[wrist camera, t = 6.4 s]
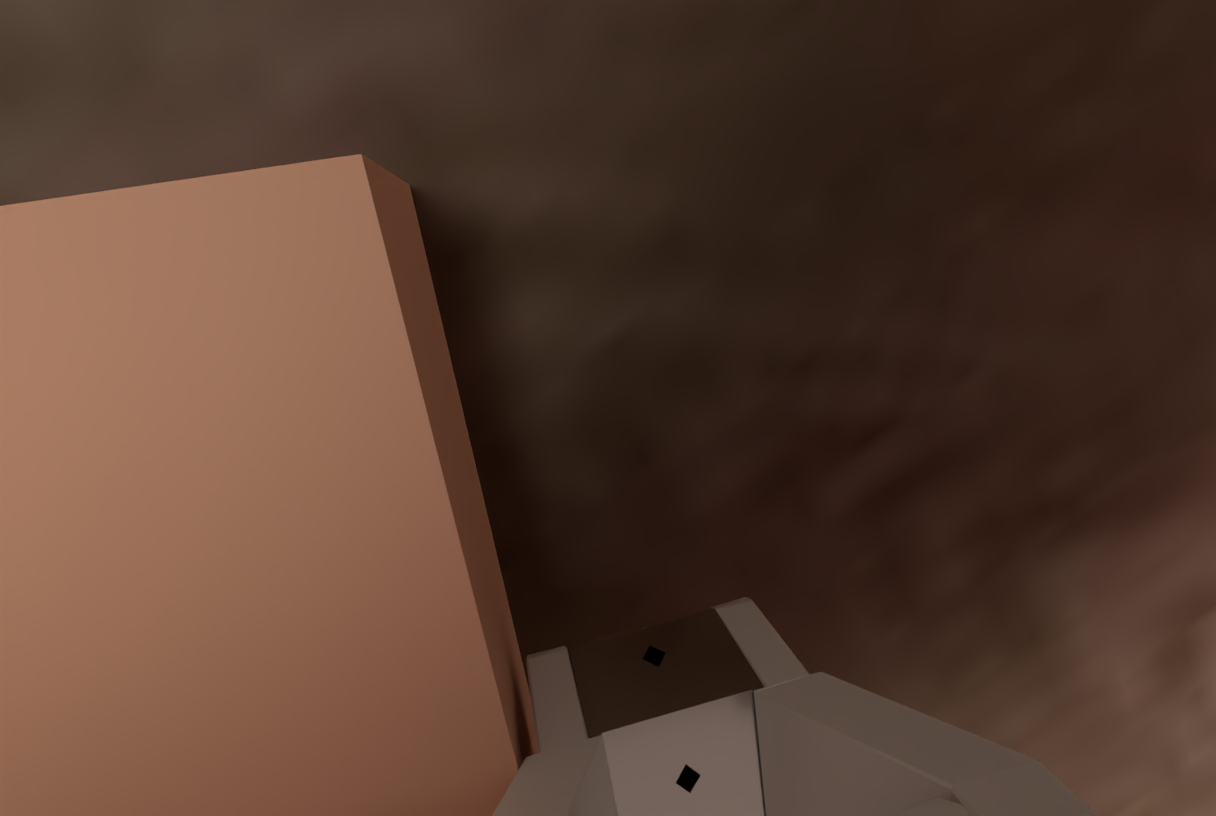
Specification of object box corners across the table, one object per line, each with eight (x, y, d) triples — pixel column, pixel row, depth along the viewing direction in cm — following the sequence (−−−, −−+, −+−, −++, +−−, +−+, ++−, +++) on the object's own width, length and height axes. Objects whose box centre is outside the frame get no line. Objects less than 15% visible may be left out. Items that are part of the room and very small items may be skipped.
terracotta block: (-337, 301, 7) (-1277, 391, 3) (411, 185, 8) (362, 153, 4) (98, 1024, 11) (-107, 1468, 7) (573, 873, 12) (622, 1178, 8)
